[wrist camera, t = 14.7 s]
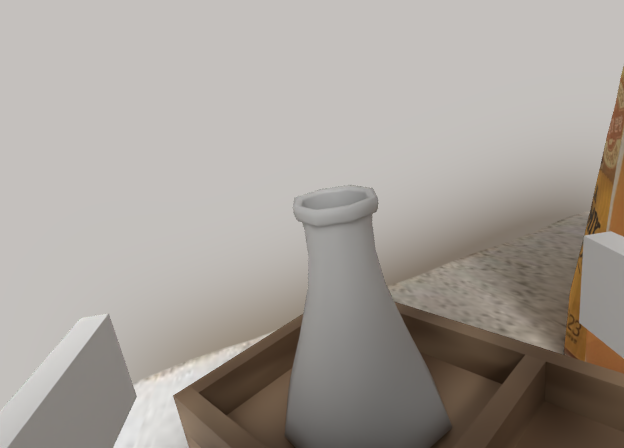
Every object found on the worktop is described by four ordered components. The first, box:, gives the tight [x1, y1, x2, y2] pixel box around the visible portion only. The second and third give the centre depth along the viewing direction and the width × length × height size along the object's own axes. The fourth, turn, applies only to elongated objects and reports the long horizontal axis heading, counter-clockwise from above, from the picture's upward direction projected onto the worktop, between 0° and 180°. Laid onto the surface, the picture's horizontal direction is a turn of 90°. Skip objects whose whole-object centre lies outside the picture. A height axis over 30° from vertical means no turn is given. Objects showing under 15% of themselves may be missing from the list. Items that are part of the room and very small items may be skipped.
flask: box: [285, 185, 453, 448], centre depth 18 cm, size 7×7×10 cm
